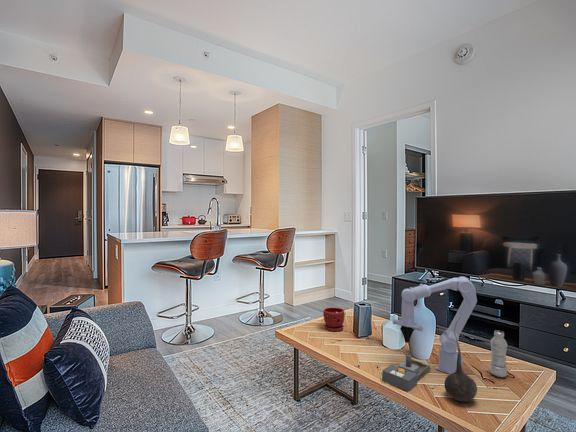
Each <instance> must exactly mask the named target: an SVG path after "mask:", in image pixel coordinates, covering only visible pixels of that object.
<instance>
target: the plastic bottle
mask: <svg viewBox="0 0 576 432" xmlns="http://www.w3.org/2000/svg"><path fill="white" fill-rule="evenodd" d="M493 332H494V333H493V337H491V339H490V343H489V344H490V349H491V350H490V351H491V359H490V365H489V372H490V373H491V375H493V376H494V377H497V378H506V377H507V375H508V367H507V362H506V361H507V359H506V358H507V350H508V343H507V340H506V339H505V338H504V337H505V332H504V331H502V330H498V329H497V330H496V329H495V330H494V331H493Z"/></svg>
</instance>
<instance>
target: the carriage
mask: <svg viewBox="0 0 576 432" xmlns="http://www.w3.org/2000/svg"><path fill="white" fill-rule="evenodd" d="M412 356H413V355H412V354H411V353H406V354H405V361H403V362H401V363H400V364H398V365H397V367H400V368H403V369H405V370H408V371H410V372H413V373H416V374H418V373H419V366H416V365H413V364H411V363H412Z"/></svg>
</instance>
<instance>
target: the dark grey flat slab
mask: <svg viewBox="0 0 576 432" xmlns="http://www.w3.org/2000/svg"><path fill="white" fill-rule="evenodd" d="M411 364H413V365H416V366H419V373H418V374H417V383H418V382H419V381H420V380H421V379H422V378H423V377H425V376H426V375H427V374H428V373H430V372H431V365H429V364H427V363H425V362H424V363H423V362H422V361H419V360H415V359H412V363H411Z"/></svg>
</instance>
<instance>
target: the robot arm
mask: <svg viewBox="0 0 576 432" xmlns="http://www.w3.org/2000/svg"><path fill="white" fill-rule="evenodd" d="M446 290H452V291H456V292H457V291H459V292H460V294H461V296H462V297H463V298H462V299H463V300H462V302H461V304H460V306H459V308H458V309H457V311H456V314H455V316H454V317H453V320H451V323H450V324H449V326H448V328H446V329H445V331H444V332H443V333H442V334H441V335H440V336H439V342H440V344H441V345H440V347H439V348H438V349H439V351H438V352H439V353H438V355H439V357H438V365H437V366H436V367H435V370H438V371H441V372H443V373H447V374H448V375H450V374H452V373H454V372H455V371H456V369H457V356H458V348H457V341H456V337H457V340H458V341H459V340H460V339H459V338H460V335H461V333H462V331H463V329H464V327H465V326H466V324H467V321H468V319H469V318H470V316H471V314H472V313H473V310H474V308H475V307H476V304H477V303H478V299H477V292H476V287H475V286H474V284H473V282H472V281H470V280H469V278H468V277H466V276H462V275H461V276H458V277H453V278H449V279H446V280H443V281H440V282H438V283H434V284H431V285H427V284H426V283H425V284H423V283H420V284H419V285H418V286H414V287H413V286H412V287H411V286H410V287H409V288H403V290H402V292H401V311H400V312H401V319H395V318H394V319H392V325H397V326H400V328H399V329H400V331H401V333H402V335H403V338H404V343H407V344H408V343H410V341H411V338H412V335H413V333H414V331H415V330H416V331H419V332H421V333H422V332H423V331H424V326H421V325H419V324H417V323H414V322H415V304H414V302H415V300H420V299H423V298H428V297H430V296H431V294H433V293H436V292H440V291H446ZM457 321H458V322H457ZM456 322H457V324H456ZM455 325H456V327H455ZM454 328H455V334H456V337H455V334H454ZM461 365H462V366H463V354H461Z"/></svg>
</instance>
